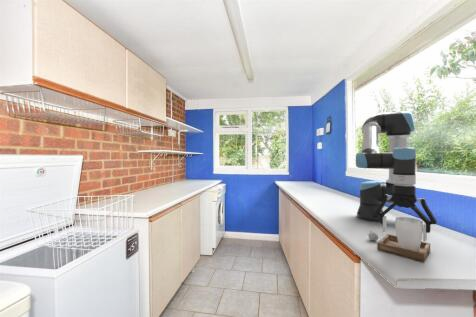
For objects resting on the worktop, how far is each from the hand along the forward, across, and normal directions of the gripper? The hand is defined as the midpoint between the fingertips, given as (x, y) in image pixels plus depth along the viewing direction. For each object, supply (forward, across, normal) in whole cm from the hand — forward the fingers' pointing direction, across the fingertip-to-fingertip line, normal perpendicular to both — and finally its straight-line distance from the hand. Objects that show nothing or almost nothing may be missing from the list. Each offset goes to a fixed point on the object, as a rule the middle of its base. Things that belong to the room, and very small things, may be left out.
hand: (403, 235), depth 91 cm
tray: (+6, 0, 0) cm, 6 cm away
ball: (+6, -12, +2) cm, 14 cm away
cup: (+5, +2, 0) cm, 6 cm away
